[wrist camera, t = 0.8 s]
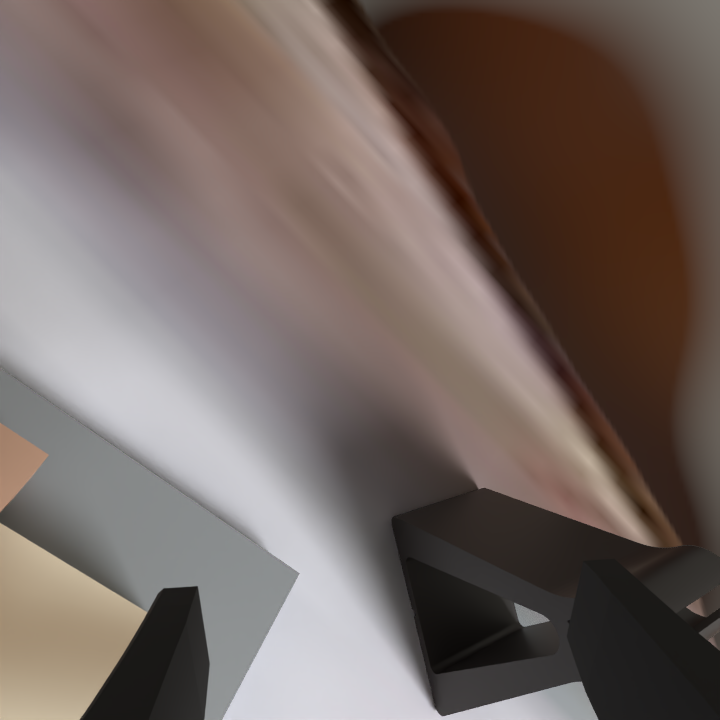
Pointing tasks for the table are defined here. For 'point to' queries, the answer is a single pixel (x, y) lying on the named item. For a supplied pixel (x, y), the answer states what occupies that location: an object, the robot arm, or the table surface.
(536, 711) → the table surface
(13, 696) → the block
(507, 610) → the phone stand
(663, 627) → the robot arm
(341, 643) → the table surface
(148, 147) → the table surface
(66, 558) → the deck
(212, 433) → the table surface
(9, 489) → the tunnel
